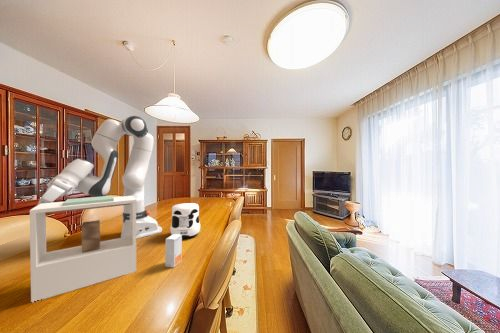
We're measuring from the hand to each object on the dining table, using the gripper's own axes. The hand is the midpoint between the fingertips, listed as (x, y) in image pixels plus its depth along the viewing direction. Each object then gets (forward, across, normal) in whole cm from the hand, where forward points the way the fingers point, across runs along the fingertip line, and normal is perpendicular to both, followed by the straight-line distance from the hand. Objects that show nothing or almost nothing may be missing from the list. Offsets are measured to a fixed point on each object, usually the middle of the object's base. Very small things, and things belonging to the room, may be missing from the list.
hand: (32, 214), depth 78 cm
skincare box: (+1, +36, +51) cm, 62 cm away
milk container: (-17, +11, +64) cm, 67 cm away
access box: (+14, +21, +29) cm, 38 cm away
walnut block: (+6, +24, +22) cm, 33 cm away
